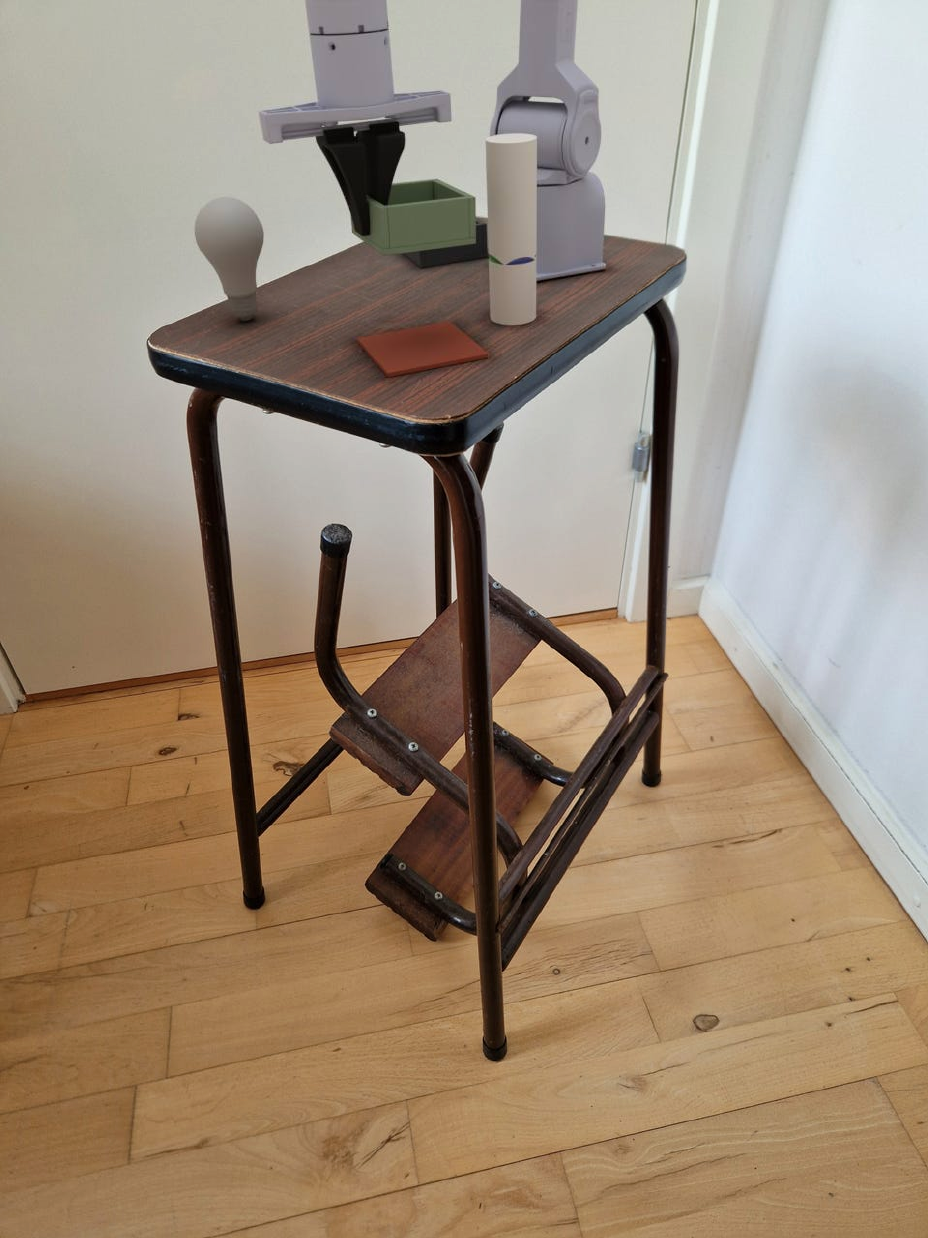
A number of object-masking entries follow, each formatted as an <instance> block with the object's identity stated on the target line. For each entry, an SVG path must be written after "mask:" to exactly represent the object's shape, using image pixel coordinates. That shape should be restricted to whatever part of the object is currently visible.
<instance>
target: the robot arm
mask: <svg viewBox="0 0 928 1238" xmlns="http://www.w3.org/2000/svg"><path fill="white" fill-rule="evenodd" d="M304 2H305V10H306V19H307V25H308V26H307V28H308V33H309V41H310V42H309V43H310V50H311V58H312V66H313V74H314V82H315V88H316V96H317V101H313V102H307V103H301V104H296V105H291V106H286V107H279V108H278V107H277V108H272V109H271V108H270V109H263V110H259V111H258V116H259V123H260V129H261V134H262V140H263V141H264V142H266V143H268V144H269V145H273V144H281V143H284V141H290V140H291V141H292V140H298V139H307V138H315V142H316V143H317V146H318V148H319V150H320V151H321V153H322V155H323V157H324V158H325V160H326V162H327V163H328V165H329V168H330V169H331V170H332V173H333V175H334V177H335V179H336V181H337V184H338V185H339V187H340V191H341V192H342V195H343V197H344V200H345V202H346V205H347V209H348V211H349V214H351V216H350V219H351V218H352V221H353V225H354V230H355V232H357V233H358V234H360V235H361V236H368V235H370V217H369V210H368V203H367V196H369V197H371V198H372V199H374V200H376V201H377V202H379V203H381V204H382V205H384V206H387V205H388V201H389V196H390V191H391V186H392V183H394V179H395V175H396V172H397V169H398V167H399V163H400V161H401V158H402V156H403V153H404V151H405V149H406V141H407V139H406V133H405V132H404V131H402V130H400V129H401V128H400V127H403V126H410V125H417V124H428V123H435V122H436V123H439V124H441V123H448V122H449V123H450V122H452V121H453V120H452V117H453V116H452V103H451V102H452V100H451V99H452V97H451V93H450V92H448V91H444V90H431V91H418V92H402V93H395V87H394V74H393V62H392V50H391V49H392V48H391V37H390V29H389V15H388V14H389V13H388V3H387V2H388V1H387V0H304ZM578 7H579V0H520V12H519V13H520V15H519V18H520V19H519V44H518V45H519V46H518V63H517V64H516V65H515V67H514V68H513V69H512V70H511V71H510V72H509V73H508V74H507V75H506V76H505V77H504V78H503V80H502V81H500V82H499V84H498V85H497V86H496V101H495V109H494V112H493V116H492V119H491V123H490V127H489V137H490V136H494V135H500V134H511V133H523V134H532V135H535V136H537V243H536V282H539V281H545V280H550V279H555V278H562V277H566V276H572V275H579V274H584V273H589V272H595V271H601V270H605V269H607V264H606V263H605V262H604V244H605V243H604V242H605V225H606V224H605V222H606V197H605V196H606V195H605V190H604V186H603V183H602V180H601V179H600V177H599V176H598V175H597V174H596V173H594V172H591V171H590V170H591V169H592V168H593V166H594V164H595V163H596V161H597V158H598V155H599V152H600V149H601V143H602V125H601V119H600V112H599V109H600V108H599V97H600V95H599V93H600V91H599V87H598V86H597V85H596V84H595V83H594V82H593V81H592V79H590V77H589V76H587V74H586V73H585V72H584V71H583V70H582V69H581V68H580V67H579V66H578V65H577V64H576V62H575V55H576V54H575V53H576V37H577V21H578ZM533 97H535V98H552V99H553V98H554V99H557V100H560V101H561V102H557V101H556V102H555V101H553V102H552V101H551V102H550V101H536V100H530V99H531V98H533ZM381 118H382V119H381ZM375 119H376V120H375ZM353 121H354V122H353ZM355 121H358V122H355ZM339 122H350V123H341V124H339ZM366 195H367V196H366Z"/></svg>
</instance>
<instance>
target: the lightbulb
mask: <svg viewBox="0 0 928 1238" xmlns="http://www.w3.org/2000/svg"><path fill="white" fill-rule="evenodd" d="M194 237H195V243H196V244H197V246H198V248H199V250H200V252H201V253H202V255H203V256H204V258H205V259H206V261H207V262H208V263H209V264H210V265H211V266H212V268H213V269H214V271H215V273H216V275H217V276H218V279H219V281H220V284H221V287H222V290H223V294H224V295H226V297H227V300H228V305H229V309H230V311H231V315H232V316H233V317H235V318H236V319H237V318H238V319H239V320H240V321H243V322H246V321H250V320H252V319H253V317H254V316H255V315H257V314H258V312H259V309H258V300H257V294H256V292H257V291H258V285H257V269H258V268H257V267H258V263H259V259H260V256H261V253H262V249H263V246H264V237H265V235H264V229H263V224H262V222H261V220H260V218H259V216H258V214H257V212H256V211H254V209H253V208H252V207H251V206H250V205H249V204H248V203H245V202H244V201H242V200H240V199H237V198H236V197H229V196H219V197H216V198H214V199H211V200H210V201H208V202H207V203H205V204H204V205H203V206H202V208H200V210H199V212H198V214H197V215H196V219H195V221H194Z"/></svg>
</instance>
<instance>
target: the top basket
mask: <svg viewBox="0 0 928 1238" xmlns="http://www.w3.org/2000/svg"><path fill="white" fill-rule="evenodd" d="M366 196H367V195H366ZM367 203H368V210H369V217H370V235H368V236H361V235H360V234H358V233H357V232H355V230H354V225H353V221H352V218H351V214H350V213H349V214H350V215H349V216H350V227H351V233H352V234H353V235H354V236H356V237H357V238H358V239H360V240H361V241H362V242H364V243H365V244H367V245H368V246H369V247H371V248H372V250H375V251H376V252H378V253H379V254H380V255H381V256H383V257H385V256H392V255H402V253H409V252H416V251H424V250H431V249H439V248H446V247H454V246H461V245H469V244H475V243H476V218H477V217H476V216H477V214H476V213H477V211H476V196H473V195H472V194H469V193H468V192H465V191H463V190H461V189H459V188H458V187H455V186H453V185H451V184H449V183H447V182H445V181H442V180H441V179H439V178H432V179H421V180H412V181H402V182H392V186H391V191H390V196H389V201H388V205H387V206H384V205H382V204H381V203H379V202H377V201H376V200H374V199H372V198H371V197H369V196H367Z"/></svg>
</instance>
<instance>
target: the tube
mask: <svg viewBox="0 0 928 1238" xmlns="http://www.w3.org/2000/svg"><path fill="white" fill-rule="evenodd" d="M485 165H486V167H485V170H486V197H487V198H486V201H487V202H486V204H487V245H488V256H489V258H488V273H489V274H488V275H489V276H488V277H489V310H490V311H489V312H490V314H489V315H490V320H491V321H492V322H493V323H494V324H498V325H502V326H520V325H525V324H529V323H531V322H533V321H535V320H536V319H537V281H536V243H537V136H535V135H532V134H523V133H511V134H500V135H494V136H490V135H489V136H488V137H486V138H485Z"/></svg>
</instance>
